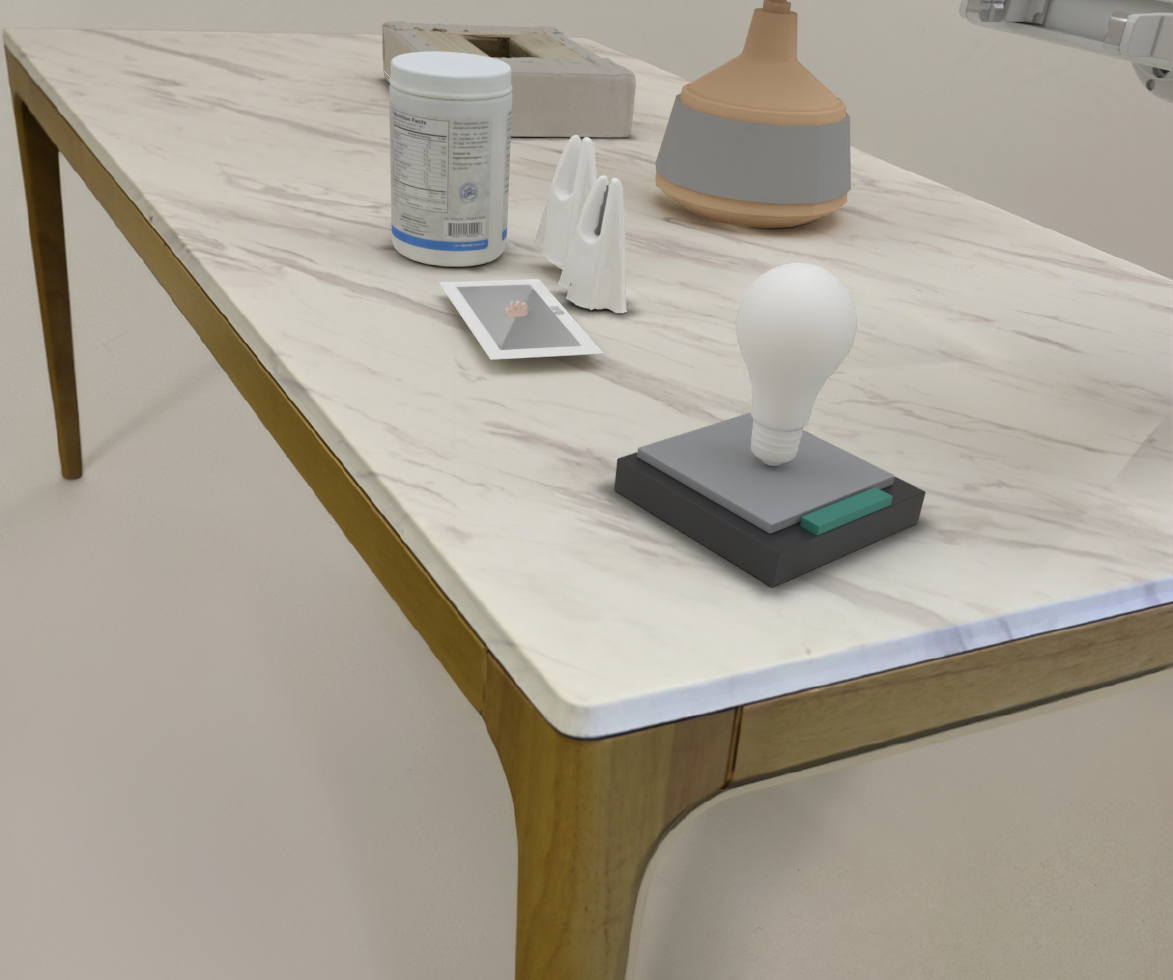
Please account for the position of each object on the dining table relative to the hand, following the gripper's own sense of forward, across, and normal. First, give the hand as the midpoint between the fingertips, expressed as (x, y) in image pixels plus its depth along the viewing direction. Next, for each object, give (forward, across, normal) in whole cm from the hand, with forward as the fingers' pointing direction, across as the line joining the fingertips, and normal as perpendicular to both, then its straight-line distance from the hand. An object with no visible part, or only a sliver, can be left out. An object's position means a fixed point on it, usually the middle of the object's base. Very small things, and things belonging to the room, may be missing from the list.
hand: (1040, 16), depth 60 cm
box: (-20, -96, +25) cm, 101 cm away
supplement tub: (+10, -46, +25) cm, 54 cm away
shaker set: (+4, -35, +25) cm, 43 cm away
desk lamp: (-24, -50, +25) cm, 61 cm away
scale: (+12, 0, +25) cm, 28 cm away
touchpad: (+13, -28, +25) cm, 40 cm away
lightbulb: (+12, 0, +23) cm, 26 cm away
